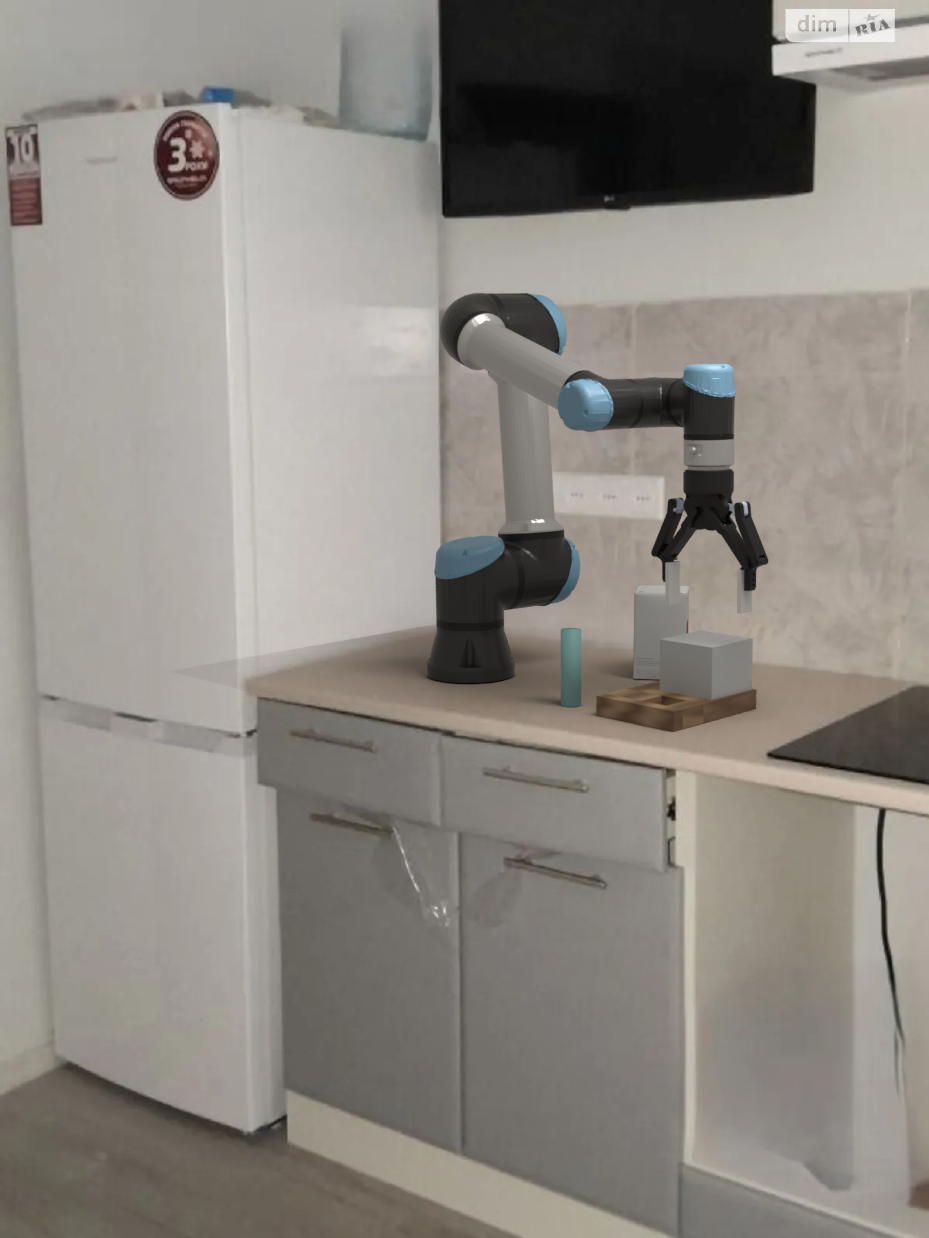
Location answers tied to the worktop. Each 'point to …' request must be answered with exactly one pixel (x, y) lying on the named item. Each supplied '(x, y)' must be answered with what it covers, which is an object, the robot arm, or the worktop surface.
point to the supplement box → (655, 626)
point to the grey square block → (706, 664)
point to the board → (669, 707)
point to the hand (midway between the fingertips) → (707, 608)
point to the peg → (571, 667)
